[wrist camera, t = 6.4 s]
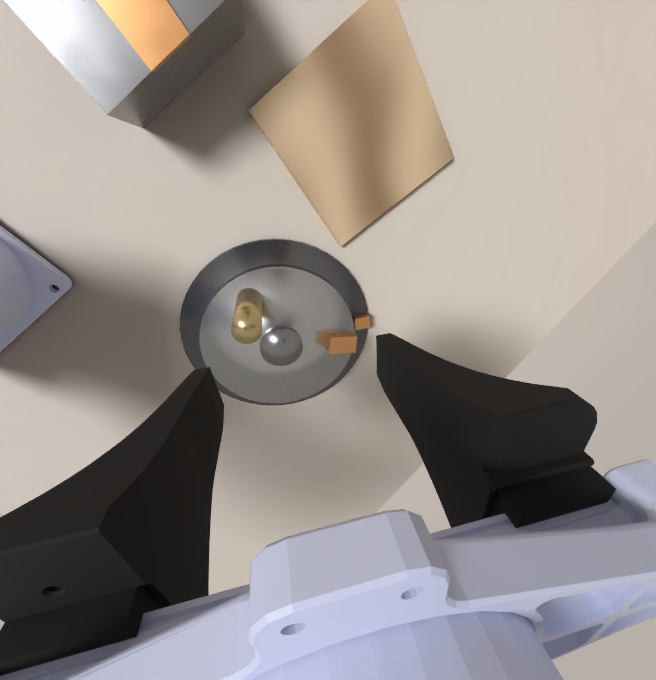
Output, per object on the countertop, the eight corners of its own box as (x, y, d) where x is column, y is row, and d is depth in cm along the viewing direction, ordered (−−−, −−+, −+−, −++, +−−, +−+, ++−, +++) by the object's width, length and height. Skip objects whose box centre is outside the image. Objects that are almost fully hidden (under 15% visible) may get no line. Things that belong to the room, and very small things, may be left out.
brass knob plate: (258, 413, 26) (257, 470, 21) (167, 314, 20) (137, 359, 15) (370, 353, 25) (397, 397, 20) (309, 233, 19) (326, 253, 15)
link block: (144, 129, 16) (106, 115, 12) (67, 39, 14) (-10, -14, 10) (245, 34, 15) (240, -15, 11) (178, -77, 13) (142, -189, 9)
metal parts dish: (163, 383, 23) (160, 390, 22) (209, 201, 18) (206, 203, 17) (324, 415, 28) (326, 422, 28) (397, 281, 23) (402, 285, 22)
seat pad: (339, 245, 21) (341, 246, 20) (248, 111, 16) (248, 110, 16) (450, 158, 19) (454, 157, 19) (385, -14, 15) (387, -19, 15)
